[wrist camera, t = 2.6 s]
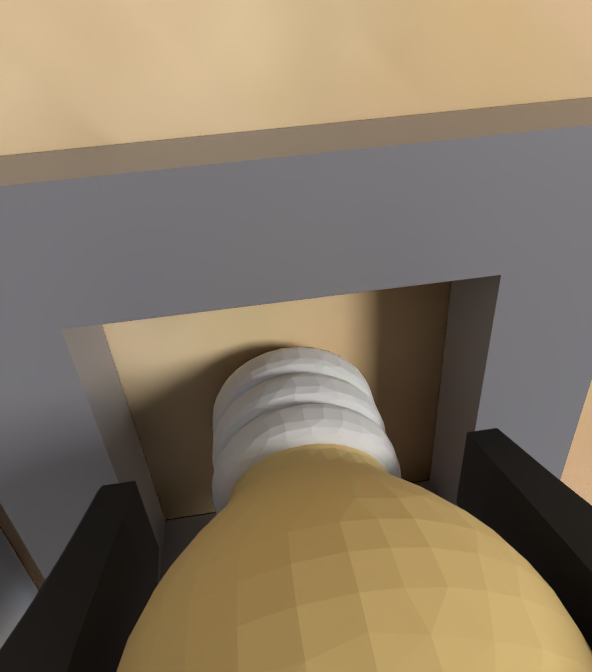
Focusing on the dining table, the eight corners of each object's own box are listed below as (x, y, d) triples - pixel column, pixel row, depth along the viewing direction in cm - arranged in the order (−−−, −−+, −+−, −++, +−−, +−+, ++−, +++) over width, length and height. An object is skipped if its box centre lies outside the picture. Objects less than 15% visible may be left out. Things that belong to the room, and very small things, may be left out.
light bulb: (290, 517, 15) (383, 1158, 7) (98, 412, 12) (-164, 1328, 4) (467, 382, 13) (911, 1050, 5) (289, 217, 10) (634, 1223, 2)
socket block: (497, 520, 16) (529, 578, 15) (101, 583, 16) (87, 653, 14) (594, 97, 10) (673, 116, 8) (-100, 165, 9) (-174, 204, 7)
